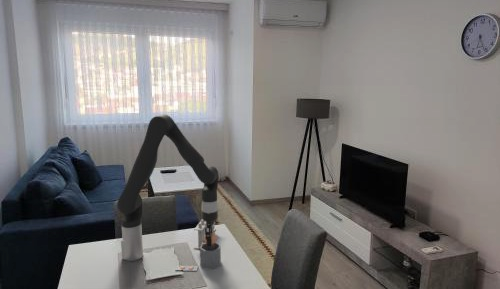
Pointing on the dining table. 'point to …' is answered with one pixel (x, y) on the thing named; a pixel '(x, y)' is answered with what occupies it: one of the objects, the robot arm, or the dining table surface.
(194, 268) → the card
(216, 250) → the tube
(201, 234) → the test tube rack
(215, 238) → the ball
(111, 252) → the dining table surface
